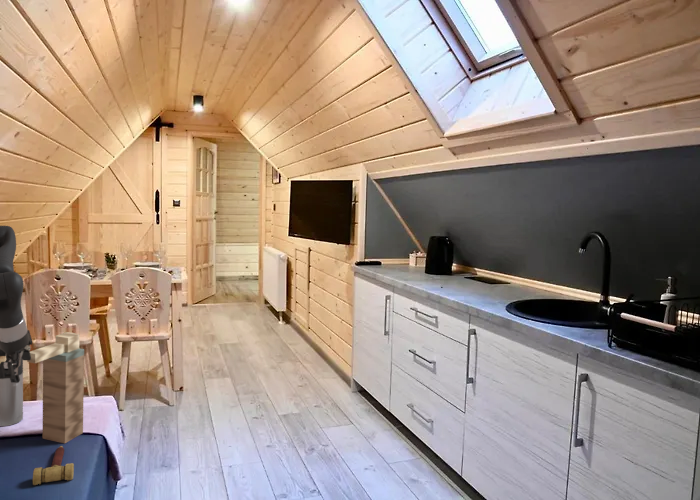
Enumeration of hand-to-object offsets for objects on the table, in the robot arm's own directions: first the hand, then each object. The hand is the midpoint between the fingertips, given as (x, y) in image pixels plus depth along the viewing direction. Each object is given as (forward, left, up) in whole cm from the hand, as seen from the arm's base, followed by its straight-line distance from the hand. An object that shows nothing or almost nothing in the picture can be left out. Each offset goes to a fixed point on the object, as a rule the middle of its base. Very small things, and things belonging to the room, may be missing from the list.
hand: (21, 370), depth 153 cm
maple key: (+3, +14, 0) cm, 14 cm away
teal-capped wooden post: (+4, +18, -30) cm, 35 cm away
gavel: (+11, -1, -30) cm, 32 cm away
